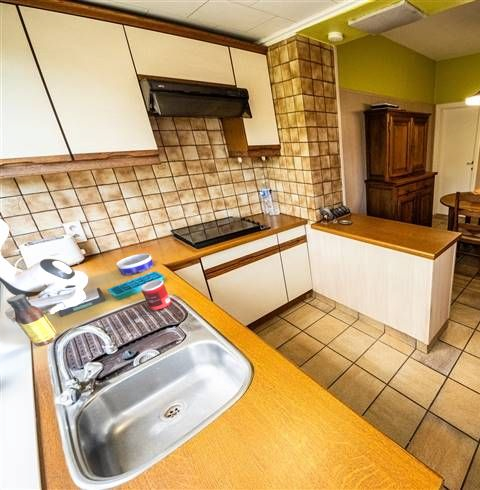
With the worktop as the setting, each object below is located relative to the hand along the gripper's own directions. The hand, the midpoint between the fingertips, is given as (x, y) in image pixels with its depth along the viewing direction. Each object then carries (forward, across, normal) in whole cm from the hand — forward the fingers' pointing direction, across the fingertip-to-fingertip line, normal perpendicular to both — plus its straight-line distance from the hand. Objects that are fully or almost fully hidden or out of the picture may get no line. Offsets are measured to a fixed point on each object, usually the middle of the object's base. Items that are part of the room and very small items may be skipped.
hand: (31, 316), depth 95 cm
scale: (-26, -1, +11) cm, 28 cm away
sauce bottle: (+1, 0, +11) cm, 11 cm away
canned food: (-7, +34, +11) cm, 37 cm away
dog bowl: (-56, +10, +11) cm, 58 cm away
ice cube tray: (-30, +19, +11) cm, 38 cm away
